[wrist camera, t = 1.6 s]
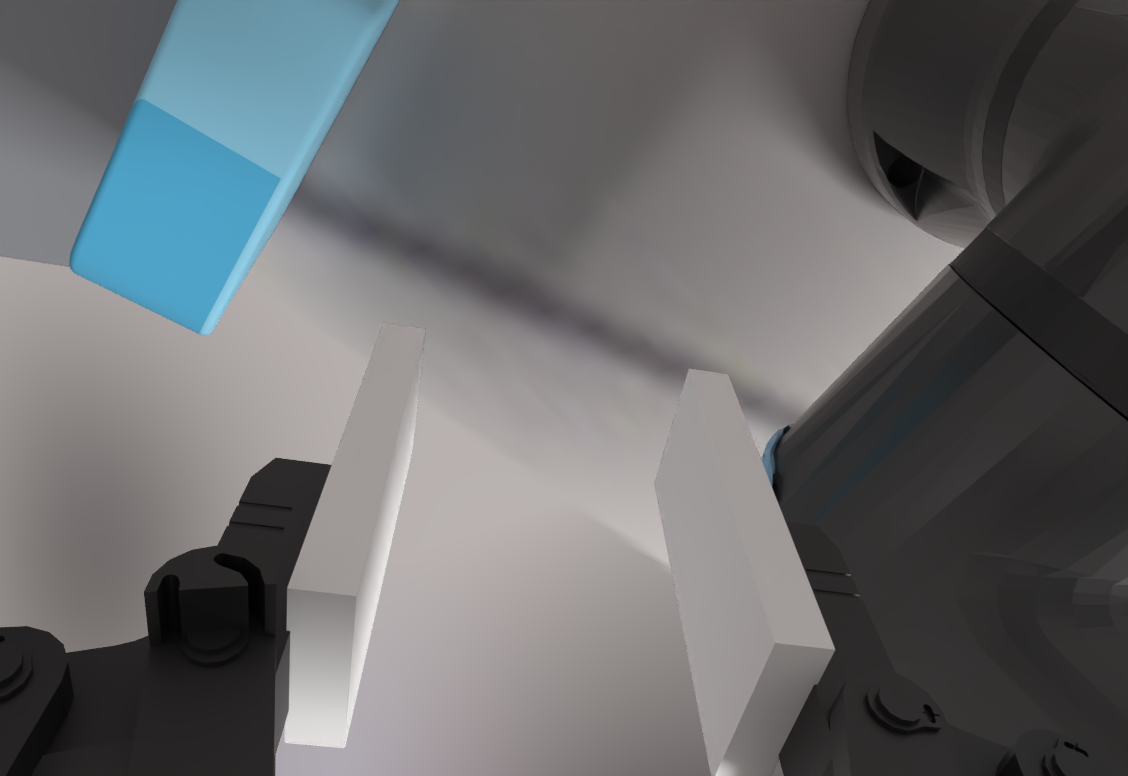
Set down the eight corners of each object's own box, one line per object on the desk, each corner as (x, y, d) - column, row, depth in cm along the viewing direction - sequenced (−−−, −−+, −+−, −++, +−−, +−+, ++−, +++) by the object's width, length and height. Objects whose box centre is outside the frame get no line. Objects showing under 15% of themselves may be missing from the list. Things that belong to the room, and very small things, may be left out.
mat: (207, -238, 28) (202, -240, 28) (222, 286, 39) (220, 289, 38) (-237, -337, 27) (-247, -340, 26) (-99, 237, 37) (-105, 240, 37)
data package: (303, -98, 30) (212, -88, 20) (411, -22, 32) (376, 24, 22) (178, 169, 35) (52, 287, 25) (278, 224, 37) (197, 356, 27)
